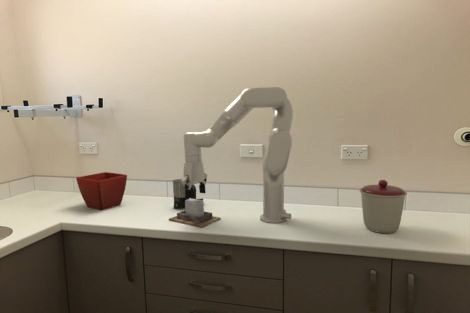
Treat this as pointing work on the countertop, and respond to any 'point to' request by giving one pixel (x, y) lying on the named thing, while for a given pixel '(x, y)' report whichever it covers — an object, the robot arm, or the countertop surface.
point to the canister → (382, 207)
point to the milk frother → (181, 194)
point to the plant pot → (102, 189)
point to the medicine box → (194, 207)
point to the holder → (195, 219)
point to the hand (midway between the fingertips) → (195, 195)
